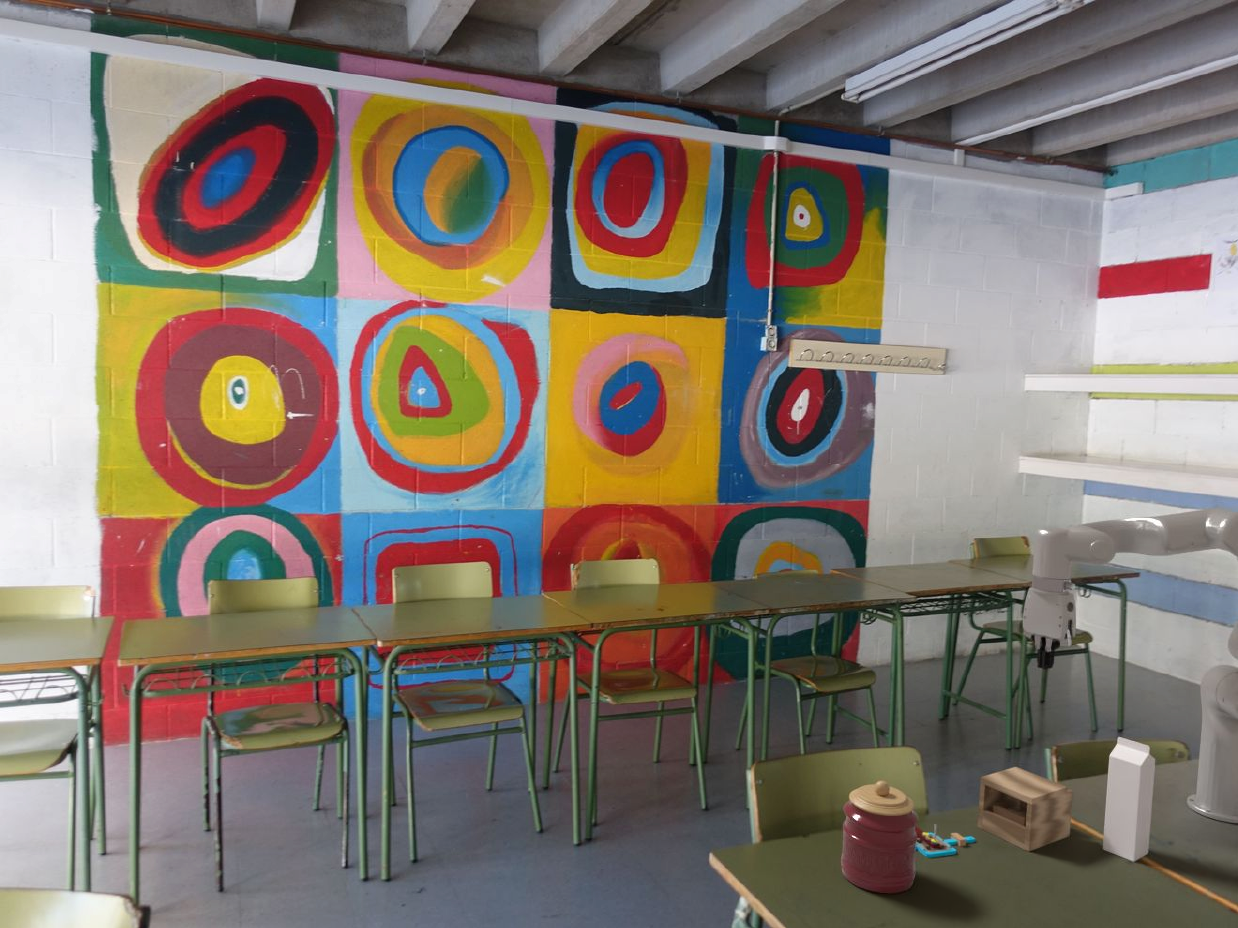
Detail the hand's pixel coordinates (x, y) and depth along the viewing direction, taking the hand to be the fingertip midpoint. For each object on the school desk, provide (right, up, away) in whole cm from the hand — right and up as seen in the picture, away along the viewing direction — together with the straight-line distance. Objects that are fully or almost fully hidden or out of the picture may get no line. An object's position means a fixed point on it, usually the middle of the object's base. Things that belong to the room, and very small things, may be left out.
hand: (1045, 667), depth 204 cm
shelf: (-11, -30, -15) cm, 35 cm away
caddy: (-10, -30, -15) cm, 35 cm away
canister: (-46, -30, -35) cm, 65 cm away
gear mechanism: (-33, -30, -22) cm, 50 cm away
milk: (+6, -31, -22) cm, 39 cm away
